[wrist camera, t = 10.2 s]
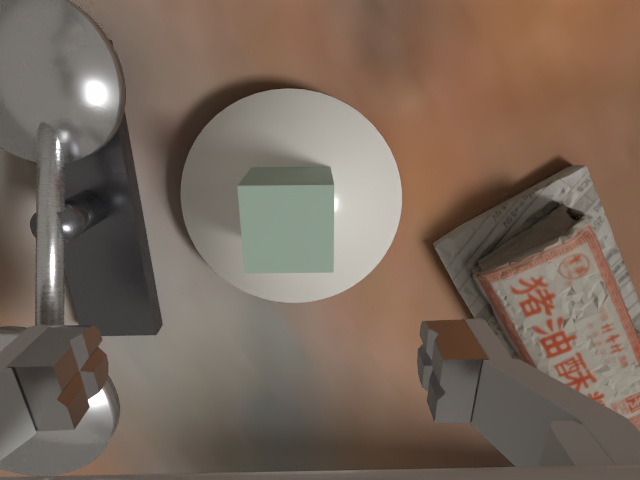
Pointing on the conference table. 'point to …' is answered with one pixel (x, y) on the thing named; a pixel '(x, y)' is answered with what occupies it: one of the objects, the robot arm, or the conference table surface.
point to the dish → (292, 151)
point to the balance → (75, 200)
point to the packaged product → (554, 287)
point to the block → (287, 220)
